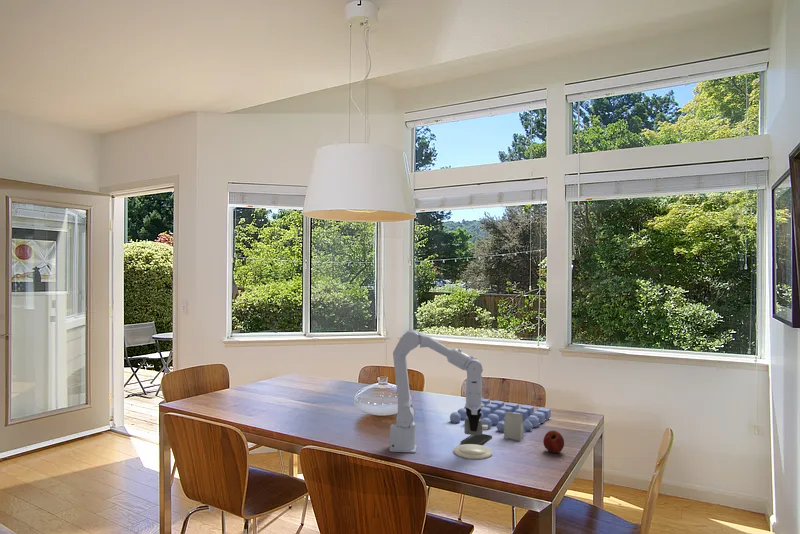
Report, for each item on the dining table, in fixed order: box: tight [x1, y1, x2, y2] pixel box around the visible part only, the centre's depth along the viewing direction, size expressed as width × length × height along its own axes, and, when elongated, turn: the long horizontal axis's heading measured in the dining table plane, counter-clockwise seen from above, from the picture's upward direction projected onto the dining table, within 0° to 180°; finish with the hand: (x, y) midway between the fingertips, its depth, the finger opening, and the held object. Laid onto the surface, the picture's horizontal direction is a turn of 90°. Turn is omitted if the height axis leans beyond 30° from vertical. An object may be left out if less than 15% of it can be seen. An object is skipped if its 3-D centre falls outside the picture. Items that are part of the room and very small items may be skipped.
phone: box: [460, 433, 493, 446], centre depth 203 cm, size 8×1×15 cm
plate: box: [453, 444, 493, 460], centre depth 189 cm, size 14×14×1 cm
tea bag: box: [503, 412, 524, 441], centre depth 207 cm, size 4×7×10 cm, turn 61°
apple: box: [542, 430, 565, 454], centre depth 191 cm, size 7×8×8 cm
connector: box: [464, 418, 488, 436], centre depth 189 cm, size 8×4×5 cm, turn 84°
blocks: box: [449, 397, 552, 434], centre depth 233 cm, size 35×34×5 cm
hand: (473, 429), depth 189 cm, fingers closed on connector, 3 cm apart
